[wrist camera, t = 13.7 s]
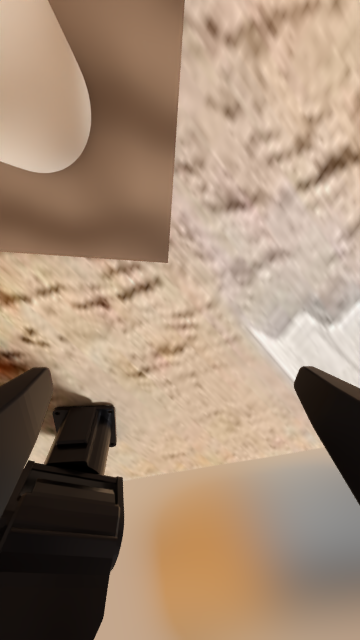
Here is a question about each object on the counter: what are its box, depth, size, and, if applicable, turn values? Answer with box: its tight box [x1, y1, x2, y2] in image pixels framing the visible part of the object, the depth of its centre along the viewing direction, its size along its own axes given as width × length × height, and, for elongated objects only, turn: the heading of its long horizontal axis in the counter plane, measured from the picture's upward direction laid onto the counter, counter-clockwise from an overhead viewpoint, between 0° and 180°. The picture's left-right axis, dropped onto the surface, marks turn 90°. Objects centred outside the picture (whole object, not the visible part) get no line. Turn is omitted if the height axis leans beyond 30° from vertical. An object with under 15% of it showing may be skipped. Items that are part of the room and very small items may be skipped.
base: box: [0, 0, 185, 263], centre depth 13 cm, size 16×16×2 cm
